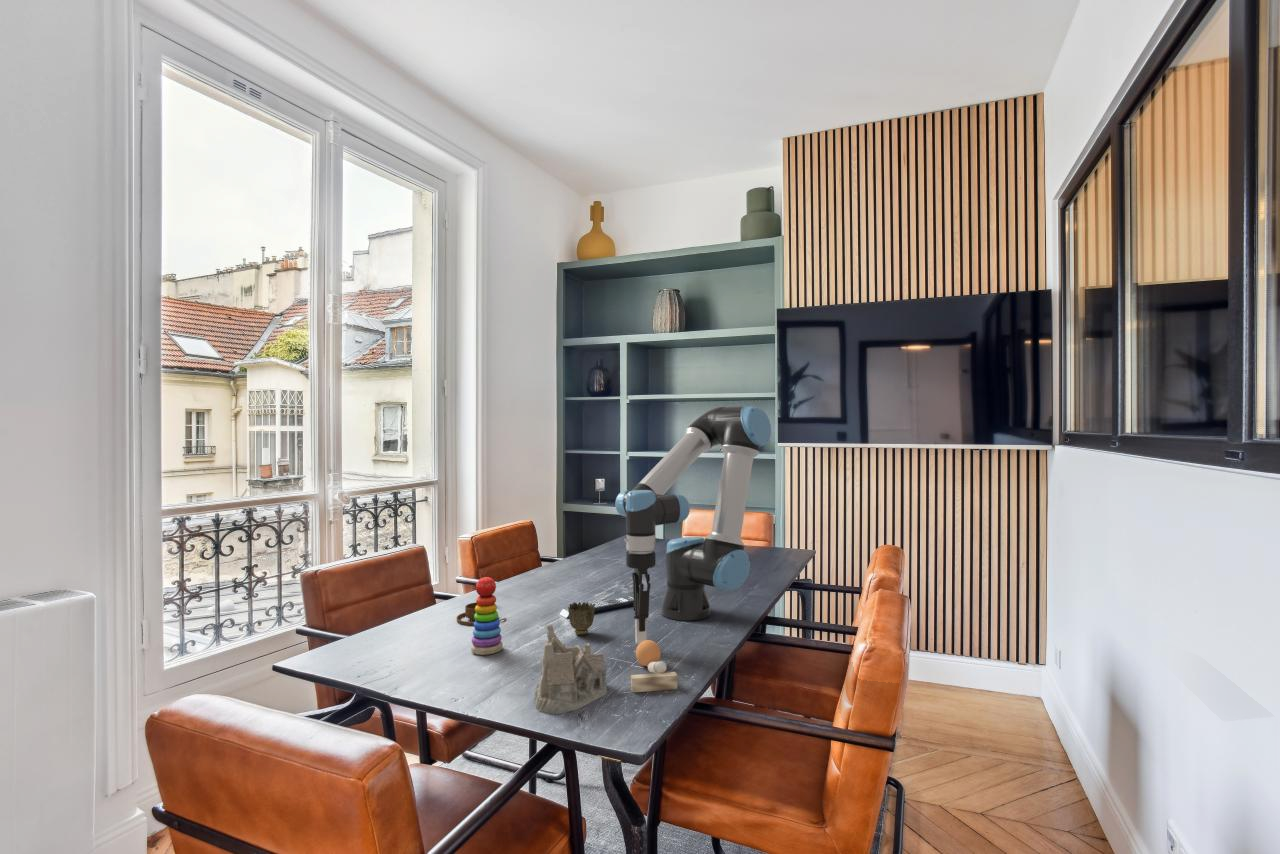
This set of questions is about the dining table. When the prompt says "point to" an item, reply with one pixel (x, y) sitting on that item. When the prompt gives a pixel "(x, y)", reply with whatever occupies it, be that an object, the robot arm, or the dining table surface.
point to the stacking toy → (486, 620)
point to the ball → (648, 652)
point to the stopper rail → (653, 682)
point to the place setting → (470, 614)
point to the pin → (657, 667)
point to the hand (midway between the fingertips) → (641, 642)
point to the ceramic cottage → (569, 677)
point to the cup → (581, 617)
